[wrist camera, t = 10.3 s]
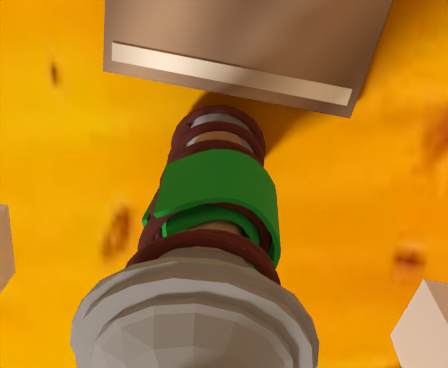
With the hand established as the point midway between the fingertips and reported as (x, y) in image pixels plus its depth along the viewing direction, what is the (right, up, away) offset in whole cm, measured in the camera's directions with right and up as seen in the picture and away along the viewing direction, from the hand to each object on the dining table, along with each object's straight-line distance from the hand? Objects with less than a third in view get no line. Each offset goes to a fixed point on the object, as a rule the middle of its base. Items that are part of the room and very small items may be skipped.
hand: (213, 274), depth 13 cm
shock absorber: (0, +5, +9) cm, 10 cm away
